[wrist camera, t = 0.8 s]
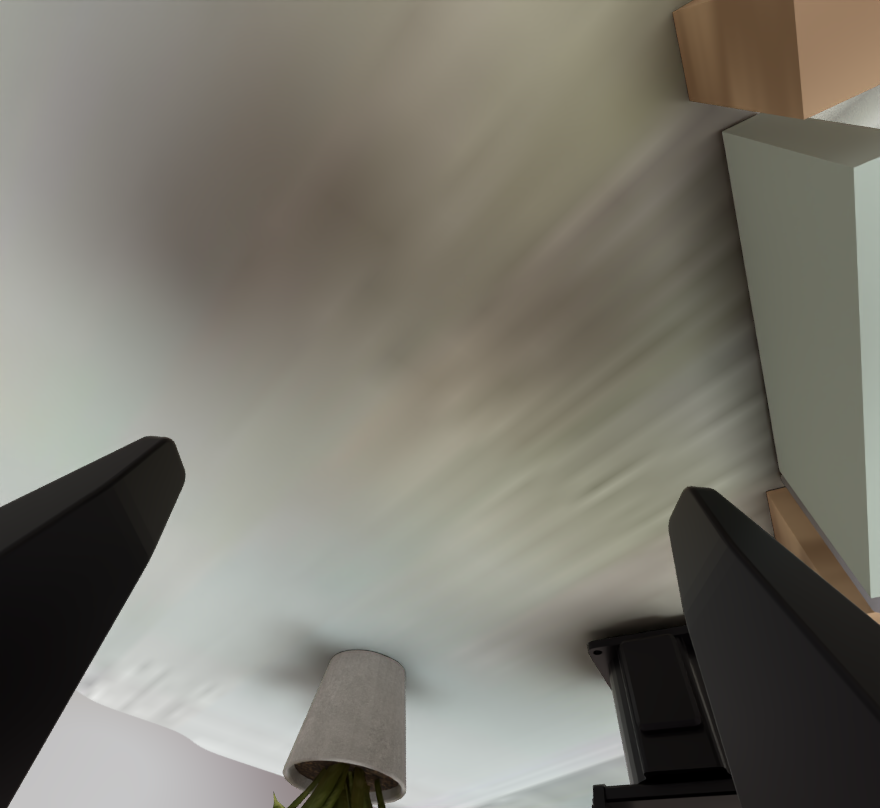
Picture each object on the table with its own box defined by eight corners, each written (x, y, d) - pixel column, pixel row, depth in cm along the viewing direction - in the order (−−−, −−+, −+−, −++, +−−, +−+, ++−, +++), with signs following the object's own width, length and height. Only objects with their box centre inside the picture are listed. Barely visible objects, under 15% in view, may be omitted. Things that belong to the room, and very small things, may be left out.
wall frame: (828, 540, 21) (919, 668, 16) (777, 550, 22) (852, 676, 17) (765, -42, 11) (966, -122, 6) (672, 12, 11) (790, -24, 7)
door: (810, 480, 19) (910, 609, 14) (782, 487, 19) (871, 616, 15) (764, 110, 12) (928, 136, 7) (722, 131, 12) (853, 167, 8)
